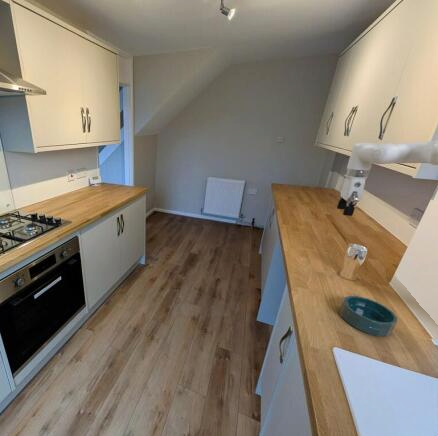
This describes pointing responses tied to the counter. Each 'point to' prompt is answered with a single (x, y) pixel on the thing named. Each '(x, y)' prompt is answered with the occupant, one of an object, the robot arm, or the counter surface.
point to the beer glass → (353, 261)
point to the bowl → (368, 315)
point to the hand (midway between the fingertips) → (344, 212)
